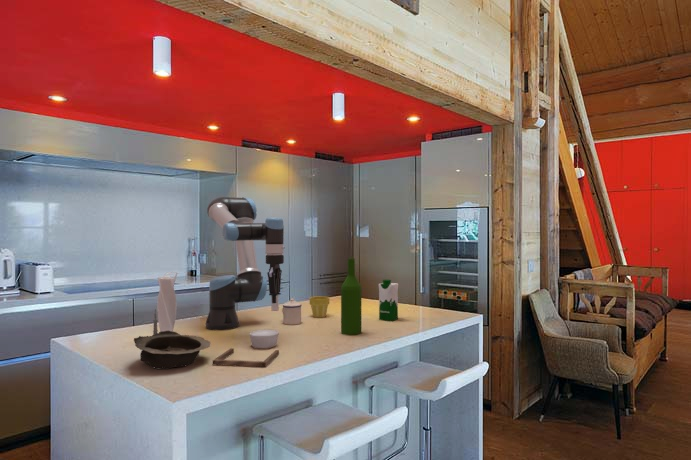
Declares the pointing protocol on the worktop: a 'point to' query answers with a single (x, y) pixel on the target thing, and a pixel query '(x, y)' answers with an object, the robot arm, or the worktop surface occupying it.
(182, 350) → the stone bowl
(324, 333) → the worktop surface
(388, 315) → the milk carton
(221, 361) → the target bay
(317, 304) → the plant pot
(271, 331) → the ramekin
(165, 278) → the skyscraper
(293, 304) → the teacup with lid
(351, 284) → the wine bottle
